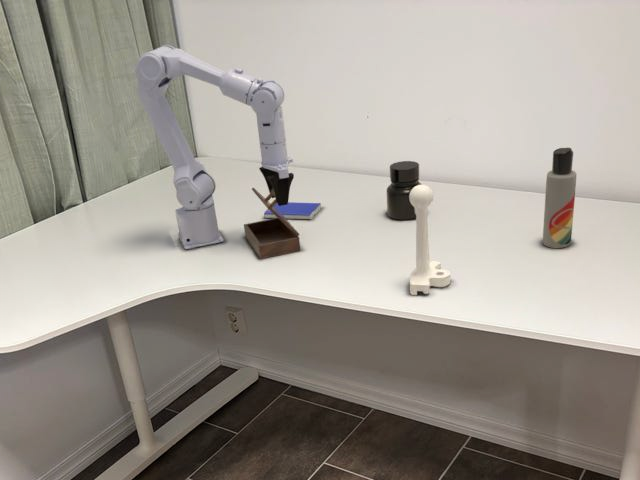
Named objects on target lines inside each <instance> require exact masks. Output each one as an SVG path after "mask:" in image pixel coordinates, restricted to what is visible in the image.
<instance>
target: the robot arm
mask: <svg viewBox="0 0 640 480" xmlns="http://www.w3.org/2000/svg"><path fill="white" fill-rule="evenodd" d="M134 73H135V75H136V77H137V91H138V92H137V93H138V98H139V100H140V103H141V105H142V106H143V109H144V111H145V113H146V115H147V118H148V119H149V121H150V123H151V125H152V127H153V129H154V131H155V134H156V136H157V137H158V140H159V142H160V144H161V146H162V148H163V150H164V151H165V154H166V156H167V158H168V160H169V162H170V164H171V167H172V168H173V170H174V173H173V180H172V182H173V186H174V188H175V191H176V192H175V193H176V199H177V202H178V203H179V205H180V206H181V207H179V208H176V209H175V210H174V211H175V212H174V213H175V217H176V223H177V228H178V237H179V240H180V242H181V244H182V247H183V248H184V250H190V249H196V248H200V247H205V246H210V245H215V244H219V243H223V242H225V239H224V238H223V236H222V235H221V233H220V231H219V224H218V219H217V212H216V207H215V201H214V193H215V191H216V187H217V186H216V185H217V184H216V180H215V178H214V177H213V176H212V175H211V174H210V173H209V172H208V171H207V169H206V168H205V165H204V164H203V163H201V162H199V161H197V159H196V158H195V156H194V154H193V152H192V149H191V147H190V145H189V143H188V141H187V140H186V139H187V138H186V137H185V134H184V133H183V131H182V128H181V126H180V124H179V122H178V120H177V118H176V116H175V114H174V111H173V110H172V109H173V108H172V107H171V105H170V103H169V101H168V98H167V97H166V93H167V90H168V87H169V86H170V82H171V80H172V79H174V78H176V77H180V76H188V77H190V78H193V79H196V80H199V81H202V82H205V83H207V84H210V85H212V86H216V87H218V88H219V90H220V92H221V94H222V95H223V96H225V97H228V98H229V99H232V100H235V101H237V102H240V103H242V104H243V105H247V106H249V107H251V109H252V110H253V112H254V113H255V114H256V115H255V116H256V123H257V125H256V126H257V132H258V140H259V148H260V155H261V156H260V157H261V162H260V164H261V166H260V167H259V168H258V170H259V172H260V173H261V174H262V176H263V178H264V180H265V182H266V186H267V190H268V193H269V194H270V193H271V189H272V188H273V189H274V193H275V197H276V198H275V197H274V196H272V198H271V199H276V200H277V203H278V205H279V206H282V205H287V204H288V202H289V197H290V191H291V186H292V182H293V180H294V178H295V177H294V176H295V175H294V173H293V172H289V164H290V163H293V162H294V158H293V157H292V156H288V149H287V141H286V131H285V130H286V129H285V121H284V115H283V106H282V104H283V103H284V100H285V92H284V89H283V87H282V86H281V85H280V84H279V83H277V82H276V81H275V80H272V79H271V80H266V81H264V78H262V77H258V78H256V77H254V76H252V75H250V74H248V73H244V69H243V68H240V67H237V68H230V69H228V70H226V71H225V70H223V69H220V68H218V67H217V66H214V65H212V64H210V63H208V62H205V61H204V60H202V59H199V58H197V57H195V56H194V55H192V54H190V53H187V52H186V51H184V50H183V49H181V48H178V47H177V48H175V47H174V46H173V45H169V44H162V45H160V46H158V48H157V47H156V48H155V49H153V50H151V51H147V52H144V53H142V54H141V55H140V56H139V57H138V60H137V62H136V65H135V68H134Z"/></svg>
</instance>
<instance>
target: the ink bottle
mask: <svg viewBox="0 0 640 480" xmlns="http://www.w3.org/2000/svg"><path fill="white" fill-rule="evenodd" d="M389 179H390V184H389V185H388V186H387V188H386V210H387V211H386V212H387V215H388V217H390V218H392V219H393V220H403V221H405V220H414V219H416V209H415V208H414V206H413V205H412V204H411V202H410V199H409V195H410V192H411V190H412V189H413V188H414V187H415V186H417V185H423V184H422V183H421V182H420V181H419V180H420V164H419V162H417V161H414V160H413V161H412V160H403V161H397V162H393V163H392V164H390V166H389Z"/></svg>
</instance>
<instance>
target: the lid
mask: <svg viewBox="0 0 640 480" xmlns="http://www.w3.org/2000/svg"><path fill="white" fill-rule="evenodd" d="M251 190H252V192H253V193H254V194H255V196H256V197H257V198H258V199H259V200H260V201H261V202H262V203H263V205H264V206H265V207H266V208H267V209H269V210H270V211H271V212H272V213H273V214H274V215H275V216H276V217H277V218H278V219H280V220H281V221H282V222H283V223H284V224H285V225H286V226H287V227H288V228H289V229H290V230H291V231H292V232H294V233H295V234H296V235H297V236H298V237H300V233H299V232H298V231H297V230H296V229H295V227H294V226H293V225H292V224H291V222H289V221H288V218H285V217H284V216H283V215H282V214H281V213H280V212H279V211H278V210H277V209H276V208H275V207H274V205H275V204H276V203H277V200H276V197H275V193H274V189H273V188H272V189H271V193H270V192H269V193H268V195H267V196H266V197H264V196H263V195H262V194H261V193H260V192H259V191H258V190H257V189H256V188H254V187H251ZM272 196H274V197H275V198H274V200H272V201H271V202H270V200H271V199H273V198H272Z"/></svg>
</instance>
